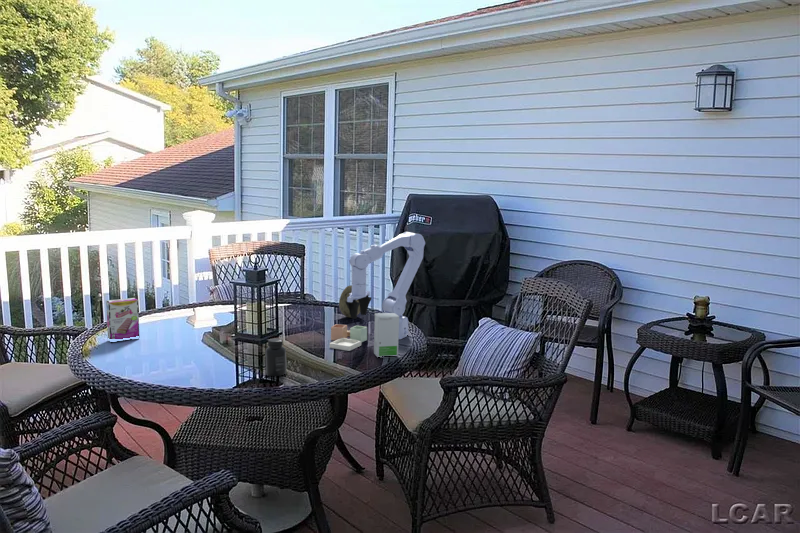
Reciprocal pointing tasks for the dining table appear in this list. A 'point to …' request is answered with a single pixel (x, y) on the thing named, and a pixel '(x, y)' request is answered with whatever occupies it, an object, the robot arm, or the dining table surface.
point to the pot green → (358, 333)
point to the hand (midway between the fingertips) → (358, 316)
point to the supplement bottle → (275, 358)
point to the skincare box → (386, 334)
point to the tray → (345, 344)
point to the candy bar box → (122, 318)
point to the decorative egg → (343, 300)
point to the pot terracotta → (338, 332)
